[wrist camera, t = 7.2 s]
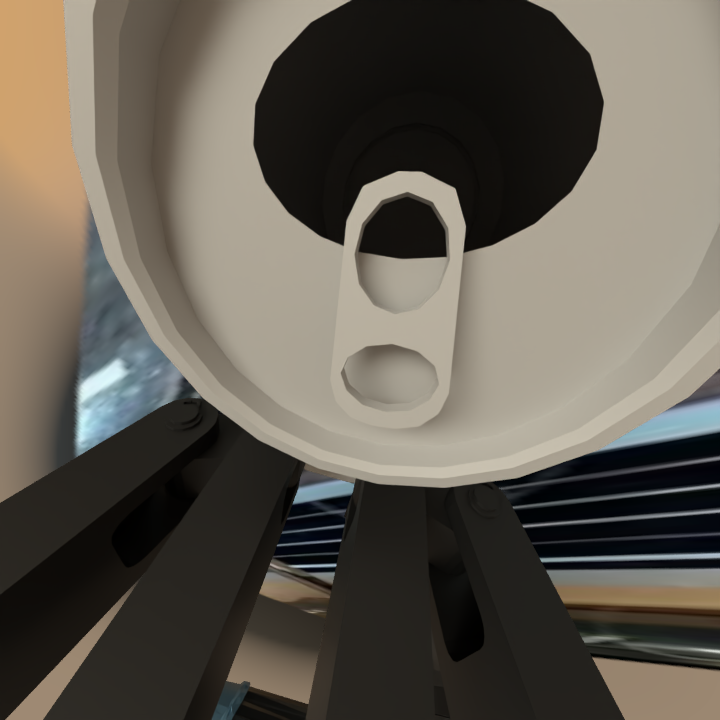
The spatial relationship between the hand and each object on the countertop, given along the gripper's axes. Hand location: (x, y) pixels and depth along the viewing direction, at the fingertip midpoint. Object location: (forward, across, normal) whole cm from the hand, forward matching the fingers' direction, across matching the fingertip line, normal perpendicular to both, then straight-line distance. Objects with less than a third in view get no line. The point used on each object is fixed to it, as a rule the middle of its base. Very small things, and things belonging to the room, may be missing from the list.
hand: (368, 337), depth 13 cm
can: (+3, 0, -5) cm, 6 cm away
